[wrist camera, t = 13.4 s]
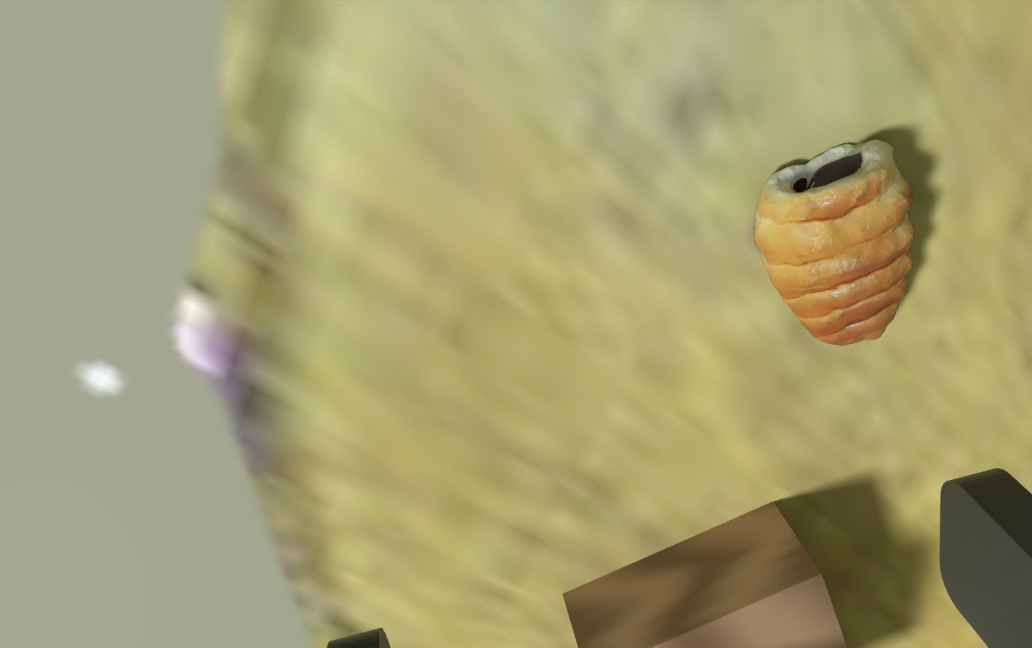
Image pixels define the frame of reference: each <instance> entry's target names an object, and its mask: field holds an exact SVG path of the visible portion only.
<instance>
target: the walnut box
mask: <svg viewBox="0 0 1032 648" xmlns="http://www.w3.org/2000/svg"><path fill="white" fill-rule="evenodd" d="M563 597H564V601H565V604H566V607H567V611H568V614H569V618H570V621H571V624H572V628H573V631H574V635H575V638H576V641H577V645H578V648H847V645H846V642H845V639H844V637H843V634H842V631H841V628H840V625H839V622H838V619H837V616H836V614H835V611H834V608H833V605H832V602H831V599H830V596H829V593H828V591H827V588H826V585H825V582H824V579H823V576H822V573H821V572H820V571H819V569H818V568H817V566H816V565H815V563H814V562H813V560H812V559H811V557H810V556H809V554H808V553H807V551H806V550H805V548H804V547H803V545H802V544H801V542H800V541H799V539H798V538H797V536H796V535H795V533H794V532H793V530H792V529H791V527H790V526H789V524H788V523H787V521H786V520H785V518H784V517H783V515H782V514H781V512H780V511H779V509H778V508H777V506H776V505H775V503H774V502H771V503H769V504H766V505H764V506H762V507H760V508H757V509H755V510H753V511H750V512H748V513H746V514H744V515H741V516H739V517H737V518H734V519H732V520H730V521H728V522H725V523H723V524H721V525H719V526H716V527H714V528H712V529H709V530H707V531H705V532H703V533H700V534H698V535H696V536H694V537H691V538H689V539H687V540H684V541H682V542H680V543H678V544H675V545H673V546H671V547H669V548H666V549H664V550H662V551H659V552H657V553H655V554H653V555H650V556H648V557H646V558H644V559H641V560H639V561H637V562H634V563H632V564H630V565H628V566H625V567H623V568H621V569H619V570H616V571H614V572H612V573H609V574H607V575H605V576H603V577H600V578H598V579H596V580H593V581H591V582H589V583H587V584H584V585H582V586H580V587H578V588H575V589H573V590H571V591H568V592H566V593H564V594H563Z"/></svg>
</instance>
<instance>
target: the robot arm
mask: <svg viewBox="0 0 1032 648" xmlns="http://www.w3.org/2000/svg"><path fill="white" fill-rule="evenodd" d="M940 570H941V575H942V579H943V582H944V585H945V587H946V590H947V592H948V594H949V596H950V598H951V600H952V602H953V603H954V605H955V606H956V608H957V609H958V610H959V612H960V613H961V614H962V615H963V617H964V618H965V619H966V620H967V621H968V623H969V624H970V625H971V626H972V628H973V629H974V630H975V631H976V632H977V634H978V635H979V636H980V637H981V639H982V640H983V641H984V642H985V643H986V645H987V646H988V647H989V648H1032V494H1031V493H1030V492H1029V491H1028V490H1027V489H1025V488H1024V487H1023V486H1022V485H1021V484H1020V483H1019V482H1018V481H1017V480H1016V479H1015V478H1013V477H1012V476H1011V475H1010V474H1009V473H1008V472H1006V471H1005V470H1003V469H1000V468H995V469H991V470H987V471H984V472H980V473H976V474H972V475H968V476H965V477H961V478H957V479H953V480H949V481H946V482H945V483H944V484H943V486H942V489H941V502H940ZM327 648H390V645H389V642H388V639H387V637H386V634H385V632H384V630H383V629H382V628H378V629H375V630H371V631H367V632H363V633H359V634H356V635H352V636H348V637H344V638H340V639H336V640H333V641H330V642H329V643H328V646H327Z"/></svg>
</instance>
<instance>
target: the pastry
mask: <svg viewBox="0 0 1032 648" xmlns="http://www.w3.org/2000/svg"><path fill="white" fill-rule="evenodd" d="M893 153H894V150H893V148H892V147H891V146H890V145H889V144H888V143H886V142H883V141H880V140H871V141H868V142H866V143H858V144H856V145H851V144H844V145H841V146H837V147H834V148H831V149H829V150H828V151H826V152H825V153H823V154H821V155H819V156H817V157H815V158H814V159H812V160H811V161H810V162H808V163H807V164H805V165H793V166H789V167H786V168H784V169H782V170H780V171H778V172H775V173H774V174H772V175H771V176H770V178H769V179H768V180H767V181H766V182H765V184H764V185H763V187H762V189H761V191H760V194H759V198H758V201H757V206H756V214H755V223H754V239H755V244H756V246H757V248H758V250H759V253H760V255H761V257H762V259H763V261H764V263H765V266H766V268H767V270H768V273H769V276H770V279H771V281H772V284H773V285H774V287H775V288H776V289H777V290H778V292H779V293H780V295H781V297H782V298H783V299H784V300H785V301H786V302H787V304H788V306H789V307H790V308H791V310H792V311H793V313H794V315H795V316H796V318H797V319H798V320H799V321H800V322H801V323H802V325H803V326H804V327H805V328H806V329H807V330H808V331H809V332H810V334H811V335H812V336H813V337H815V338H816V339H818V340H821V341H823V342H826V343H828V344H833V345H839V346H843V345H848V344H852V343H856V342H859V341H862V340H874V339H877V338H880V337H881V335H882V334H883V332H884V331H885V329H886V327H887V325H888V324H889V323H890V322H891V321H892V320H893V319H894V317H895V314H896V311H897V308H898V306H899V302H900V300H901V298H902V297H903V296H905V294H906V293H907V286H908V283H907V279H906V274H907V272H908V271H909V270H910V269H911V268H912V266H913V258H912V254H911V249H910V246H911V244H912V242H913V240H914V238H915V233H914V229H913V226H912V224H911V222H910V220H909V218H908V209H909V208H910V206H911V204H912V192H911V188H910V186H909V184H908V183H907V182H906V181H905V179H904V178H903V176H902V175H901V173H900V172H899V170H898V168H897V166H896V163H895V161H894V157H893Z"/></svg>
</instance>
